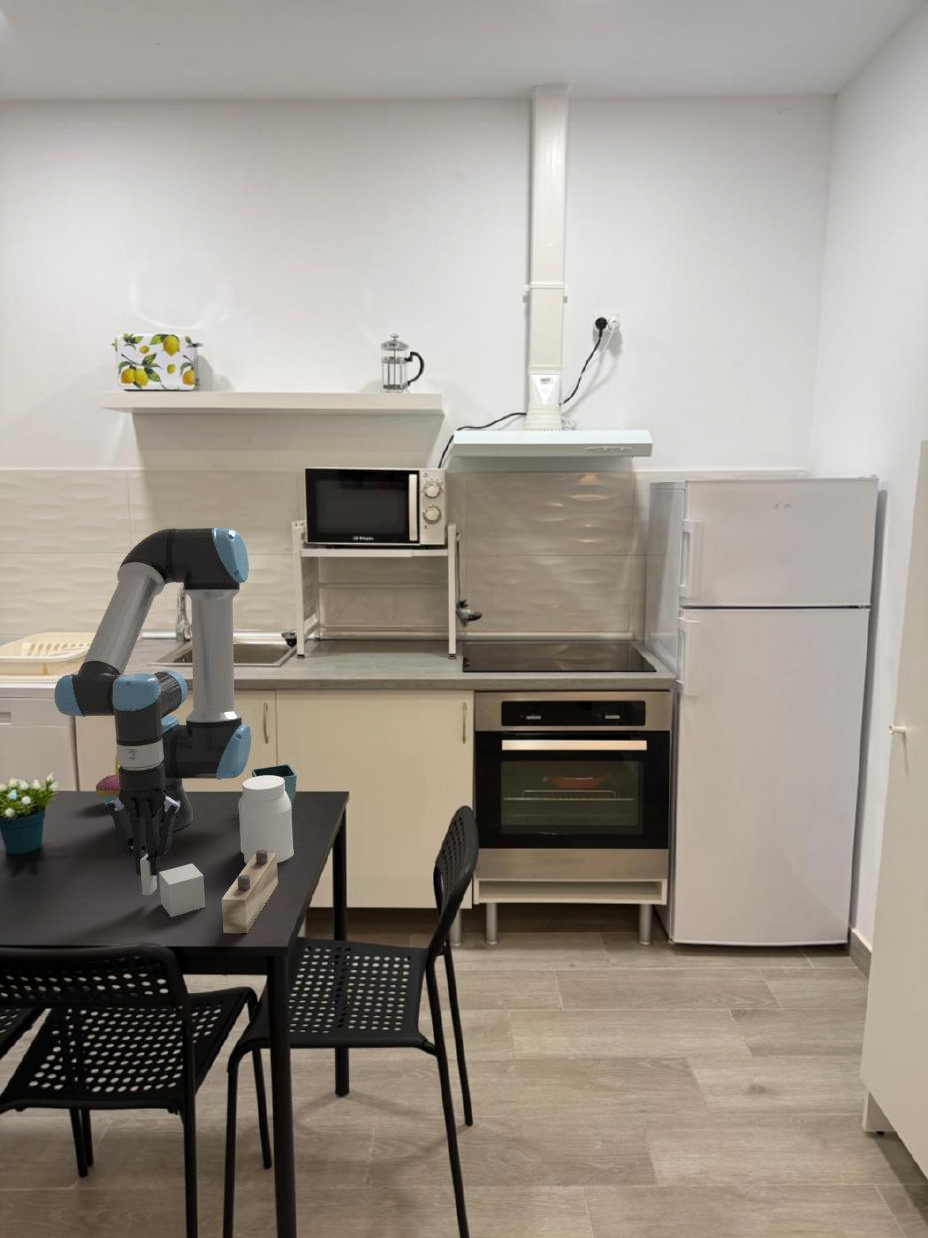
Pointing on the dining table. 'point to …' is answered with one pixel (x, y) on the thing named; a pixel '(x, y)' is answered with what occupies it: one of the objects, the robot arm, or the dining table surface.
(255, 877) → the block
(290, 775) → the flower pot
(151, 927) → the dining table surface
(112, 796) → the cupcake
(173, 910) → the white cube
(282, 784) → the jar
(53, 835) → the dining table surface
